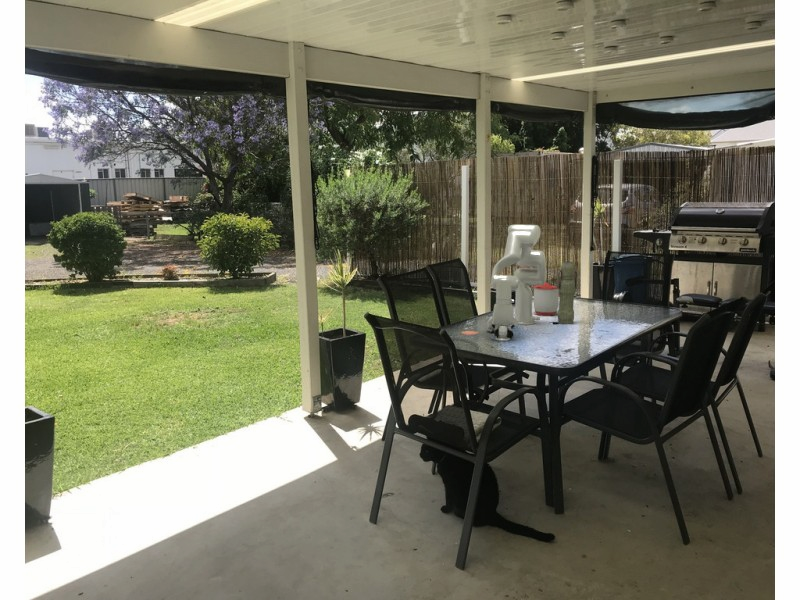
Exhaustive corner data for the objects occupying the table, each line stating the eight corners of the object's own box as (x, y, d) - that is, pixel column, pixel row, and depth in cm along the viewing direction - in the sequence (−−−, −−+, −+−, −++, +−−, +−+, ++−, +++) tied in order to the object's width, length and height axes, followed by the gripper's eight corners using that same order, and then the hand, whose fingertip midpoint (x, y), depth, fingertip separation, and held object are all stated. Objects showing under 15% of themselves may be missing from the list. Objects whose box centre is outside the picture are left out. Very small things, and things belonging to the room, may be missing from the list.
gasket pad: (478, 331, 345) (478, 331, 345) (478, 335, 336) (478, 334, 336) (461, 331, 346) (461, 330, 346) (460, 334, 338) (460, 334, 338)
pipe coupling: (509, 338, 329) (509, 324, 327) (509, 341, 322) (510, 326, 320) (495, 338, 329) (495, 323, 328) (495, 341, 323) (496, 326, 321)
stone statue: (579, 324, 364) (581, 262, 359) (560, 325, 361) (562, 263, 356) (571, 321, 373) (573, 261, 367) (552, 322, 370) (554, 261, 364)
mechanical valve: (500, 324, 351) (508, 306, 339) (513, 350, 340) (521, 333, 329) (483, 327, 348) (490, 309, 336) (495, 353, 337) (503, 336, 326)
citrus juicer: (564, 316, 386) (565, 283, 382) (535, 316, 386) (536, 283, 383) (558, 312, 401) (559, 280, 398) (530, 312, 401) (531, 280, 398)
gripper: (520, 301, 325) (519, 336, 328) (486, 300, 327) (485, 335, 330) (521, 303, 318) (520, 339, 321) (486, 302, 320) (485, 338, 323)
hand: (502, 337), depth 325 cm, fingers closed on pipe coupling, 5 cm apart
